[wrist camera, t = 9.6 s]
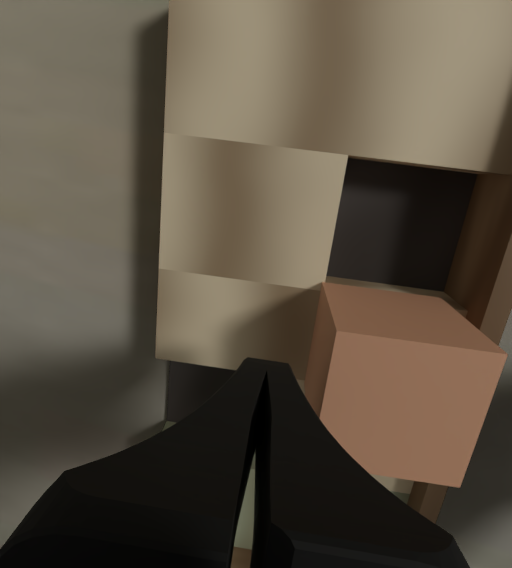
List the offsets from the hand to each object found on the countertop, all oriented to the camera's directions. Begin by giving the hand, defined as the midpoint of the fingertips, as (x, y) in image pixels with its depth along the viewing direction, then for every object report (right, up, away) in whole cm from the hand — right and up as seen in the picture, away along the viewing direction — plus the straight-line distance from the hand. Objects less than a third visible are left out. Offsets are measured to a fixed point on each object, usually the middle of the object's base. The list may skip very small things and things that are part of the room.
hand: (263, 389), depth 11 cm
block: (+4, +1, +4) cm, 6 cm away
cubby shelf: (+2, +2, +6) cm, 7 cm away
